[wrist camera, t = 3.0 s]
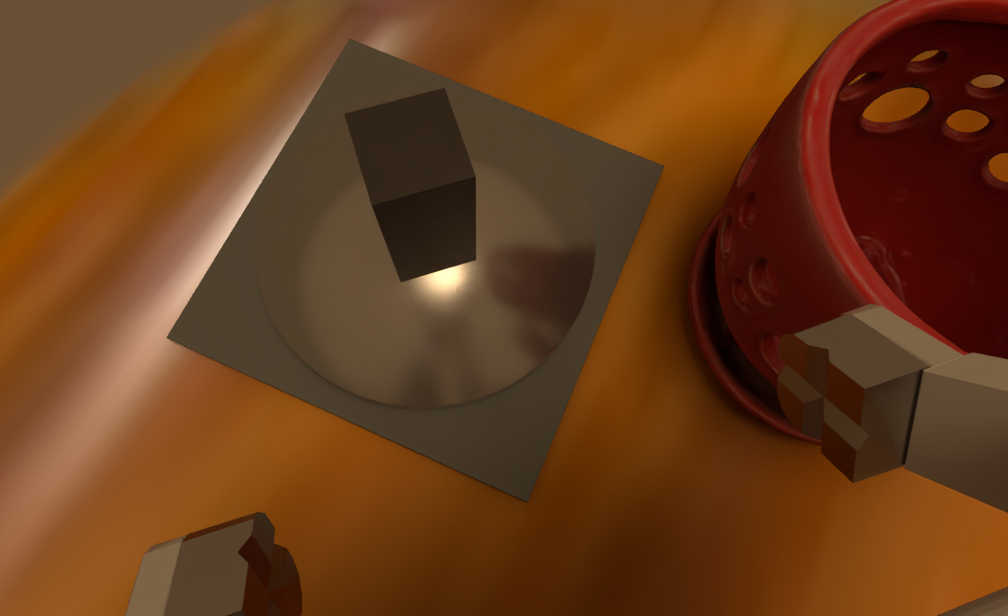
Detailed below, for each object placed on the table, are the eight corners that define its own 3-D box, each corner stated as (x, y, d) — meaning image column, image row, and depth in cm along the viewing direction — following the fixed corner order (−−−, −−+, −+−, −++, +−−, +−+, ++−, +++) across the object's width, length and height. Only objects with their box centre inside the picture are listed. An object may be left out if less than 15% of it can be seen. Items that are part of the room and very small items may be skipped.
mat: (661, 170, 29) (663, 166, 28) (526, 502, 24) (527, 502, 24) (351, 44, 30) (349, 38, 30) (170, 339, 26) (166, 337, 25)
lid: (638, 349, 26) (711, 288, 18) (308, 457, 24) (223, 443, 16) (529, 74, 29) (549, -82, 21) (233, 151, 28) (133, 13, 20)
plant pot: (979, 470, 26) (1390, 458, 14) (663, 448, 25) (819, 417, 14) (938, 184, 29) (1239, -12, 18) (661, 162, 29) (784, -52, 17)
